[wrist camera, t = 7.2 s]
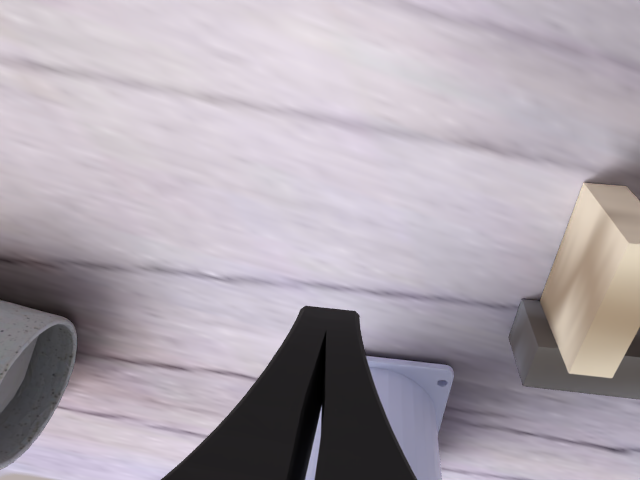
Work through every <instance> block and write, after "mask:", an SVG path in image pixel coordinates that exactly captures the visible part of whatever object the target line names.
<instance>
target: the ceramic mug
mask: <svg viewBox="0 0 640 480" xmlns="http://www.w3.org/2000/svg"><path fill="white" fill-rule="evenodd" d="M76 350H77V333H76V329H75V327H74V325H73V323H72V322H71V321H69V320H68V319H67V318H65V317H62V316H59V315H55V314H51V313H47V312H43V311H39V310H36V309H32V308H28V307H25V306H21V305H18V304H14V303H10V302H6V301H2V300H0V470H1V469H3V468H5V467H7V466H8V465H10V464H11V463H13V462H14V461H15V460H16V459H17V458H19V457H20V456H21V455H22V454H23V453H24V452H25V451H26V450H27V449H28V448H29V447H30V446H31V445H32V443H33V442H34V441H35V440H36V439H37V438H38V436H39V435H40V434H41V432H42V431H43V429H44V428H45V426H46V425H47V423H48V421H49V420H50V418H51V417H52V415H53V413H54V411H55V409H56V408H57V406H58V404H59V402H60V400H61V398H62V396H63V393H64V391H65V389H66V387H67V385H68V381H69V378H70V376H71V373H72V370H73V367H74V363H75V357H76Z"/></svg>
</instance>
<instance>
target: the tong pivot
mask: <svg viewBox="0 0 640 480" xmlns="http://www.w3.org/2000/svg"><path fill="white" fill-rule="evenodd" d="M509 340H510V344H511V347H512V350H513V354H514V357H515V361H516V364H517V368H518V371H519V374H520V378H521V381H522V385H523V386H526V387H535V388H544V389H553V390H561V391H570V392H579V393H588V394H596V395H605V396H614V397H623V398H632V399H640V201H639V200H638V199H637V197H636V196H635V195H634V194H633V193H632V192H631V191H630V190H629V189H628V188H627V186H618V185H605V184H593V183H583V185H582V188H581V191H580V193H579V196H578V199H577V202H576V204H575V207H574V210H573V212H572V215H571V218H570V220H569V223H568V226H567V228H566V231H565V234H564V237H563V239H562V242H561V245H560V247H559V250H558V253H557V255H556V258H555V261H554V264H553V266H552V269H551V272H550V274H549V277H548V280H547V282H546V285H545V288H544V290H543V293H542V296H541V299H540V301H536V300H526V299H522V300H521V303H520V305H519V308H518V311H517V314H516V317H515V320H514V323H513V326H512V329H511V332H510V335H509Z"/></svg>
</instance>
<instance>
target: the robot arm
mask: <svg viewBox="0 0 640 480" xmlns="http://www.w3.org/2000/svg"><path fill="white" fill-rule="evenodd" d="M453 378H454V372H453V369H452V367H450V366H448V365H443V364H434V363H426V362H417V361H408V360H399V359H390V358H381V357H372V356H366V354H365V350H364V346H363V342H362V336H361V330H360V321H359V314H358V313H357V312H356V311H349V310H340V309H330V308H321V307H311V306H305V307H303V308H302V309H301V310H300V312H299V315H298V317H297V319H296V321H295V323H294V325H293V327H292V328H291V330H290V332H289V334H288V335H287V337H286V339H285V340H284V342H283V343H282V345H281V347H280V348H279V350H278V351H277V353H276V354H275V355H274V357H273V358H272V360H271V361H270V363H269V364H268V366H267V367H266V369H265V370H264V371H263V373H262V374H261V375H260V377H259V378H258V379H257V381H256V382H255V383H254V384H253V386H252V387H251V388H250V390H249V391H248V392H247V393H246V395H245V396H244V397H243V398H242V400H241V401H240V402H239V403H238V404H237V405H236V407H235V408H234V409H233V410H232V411H231V412H230V414H229V415H228V416H227V417H226V418H225V419H224V420H223V421H222V422H221V423H220V424H219V426H218V427H217V428H216V429H215V430H214V431H213V432H212V433H211V434H210V435H209V436H208V437H207V438H206V439H205V440H204V441H203V442H202V443H201V444H200V445H199V446H198V447H197V448H196V449H195V450H194V451H193V452H192V453H191V454H190V455H188V456H187V457H186V458H185V459H184V460H183V461H182V462H181V463H180V464H179V465H178V466H176V467H175V468H174V469H173V470H172V471H171V472H169V473H168V474H167V475H166V476H165V477H164V478H162V479H161V480H442V474H441V464H440V454H439V443H438V433H439V429H440V426H441V422H442V418H443V415H444V411H445V407H446V404H447V400H448V397H449V393H450V389H451V386H452V382H453ZM440 380H444V381H440Z"/></svg>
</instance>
